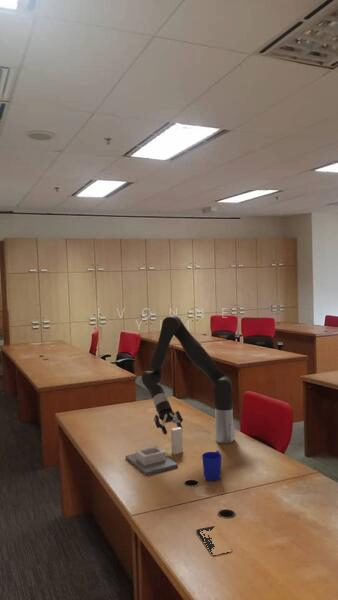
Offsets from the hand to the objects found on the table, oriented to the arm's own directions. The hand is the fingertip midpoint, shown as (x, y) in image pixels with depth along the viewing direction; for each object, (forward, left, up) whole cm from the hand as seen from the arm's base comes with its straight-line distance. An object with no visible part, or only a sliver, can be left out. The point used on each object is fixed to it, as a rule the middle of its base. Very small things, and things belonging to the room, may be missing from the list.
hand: (173, 432), depth 228 cm
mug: (-28, +20, -9) cm, 36 cm away
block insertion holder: (+4, +18, -9) cm, 20 cm away
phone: (-45, +65, -10) cm, 80 cm away
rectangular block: (-2, +2, -9) cm, 10 cm away
